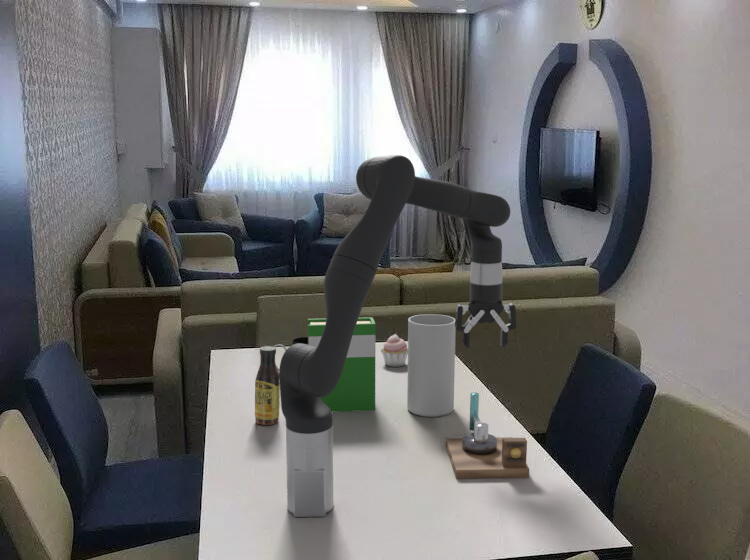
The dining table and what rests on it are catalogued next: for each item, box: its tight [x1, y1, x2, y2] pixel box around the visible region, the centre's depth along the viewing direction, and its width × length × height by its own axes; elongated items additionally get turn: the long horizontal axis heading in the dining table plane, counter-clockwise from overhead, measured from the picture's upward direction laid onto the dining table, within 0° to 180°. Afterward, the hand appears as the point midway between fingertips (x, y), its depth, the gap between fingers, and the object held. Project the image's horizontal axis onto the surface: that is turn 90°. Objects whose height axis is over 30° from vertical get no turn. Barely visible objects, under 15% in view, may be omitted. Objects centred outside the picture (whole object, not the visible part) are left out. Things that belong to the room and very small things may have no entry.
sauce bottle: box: [254, 345, 281, 426], centre depth 204 cm, size 7×6×20 cm
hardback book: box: [307, 316, 377, 413], centre depth 215 cm, size 18×7×24 cm, turn 96°
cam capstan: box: [461, 391, 497, 454], centre depth 186 cm, size 14×8×10 cm, turn 2°
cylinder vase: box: [406, 313, 457, 418], centre depth 213 cm, size 12×12×25 cm
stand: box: [445, 436, 530, 480], centre depth 181 cm, size 18×16×8 cm
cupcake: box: [380, 333, 408, 368], centre depth 255 cm, size 9×9×10 cm
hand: (484, 346), depth 190 cm, fingers open, 8 cm apart
